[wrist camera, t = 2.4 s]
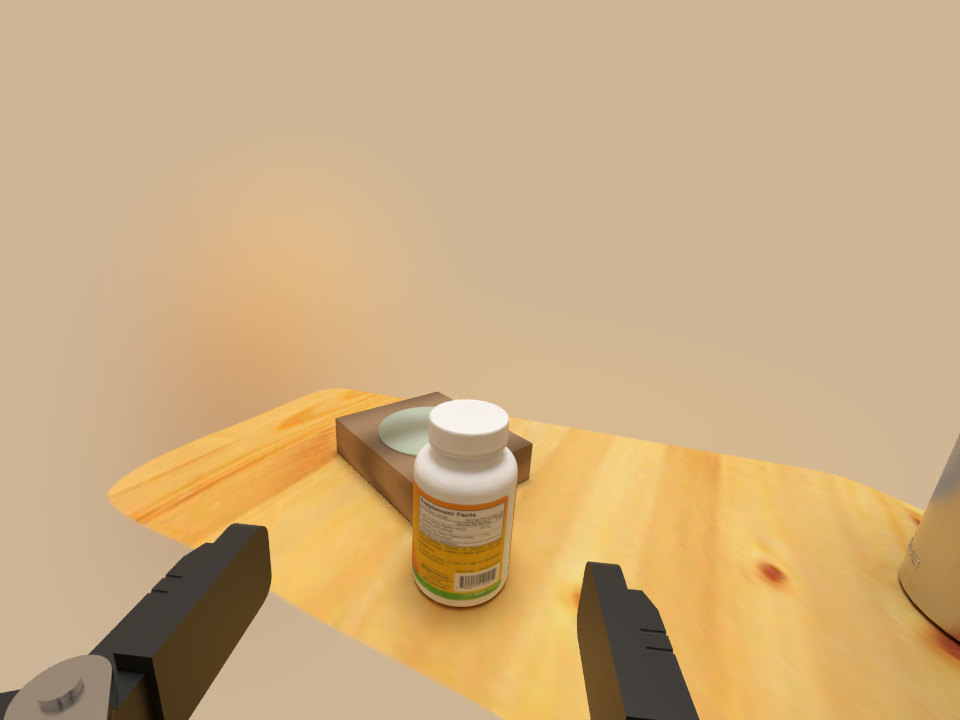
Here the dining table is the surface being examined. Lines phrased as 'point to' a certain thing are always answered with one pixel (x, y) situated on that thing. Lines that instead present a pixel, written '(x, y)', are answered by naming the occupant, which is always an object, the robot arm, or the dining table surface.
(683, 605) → the dining table surface
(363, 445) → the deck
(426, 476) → the supplement bottle
